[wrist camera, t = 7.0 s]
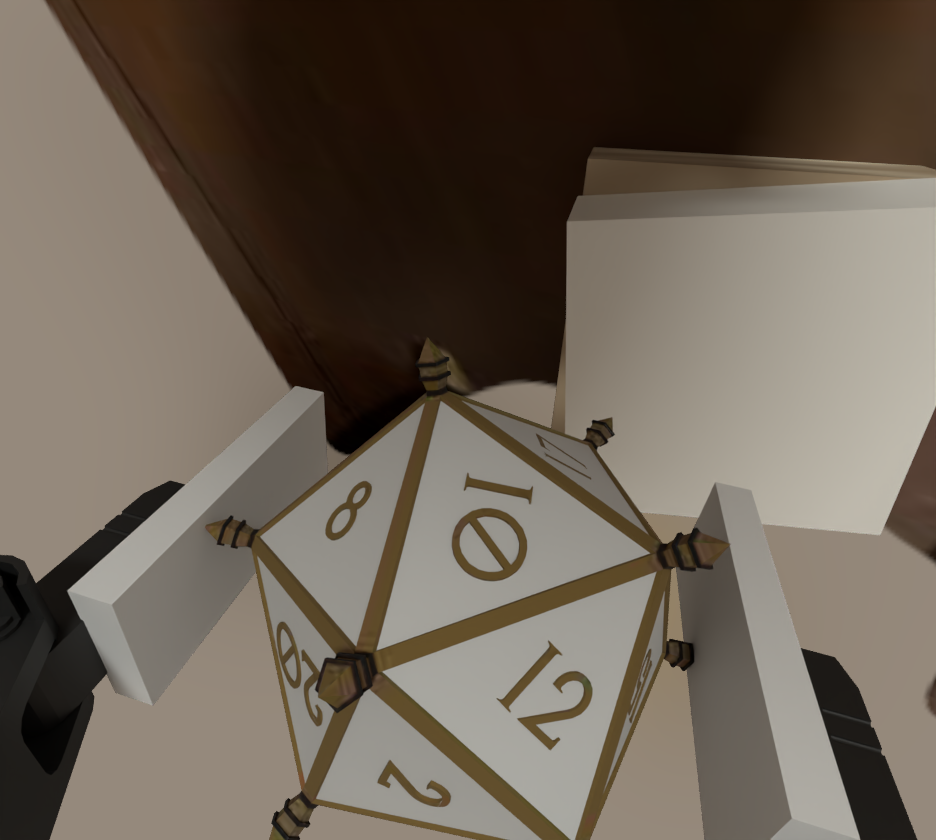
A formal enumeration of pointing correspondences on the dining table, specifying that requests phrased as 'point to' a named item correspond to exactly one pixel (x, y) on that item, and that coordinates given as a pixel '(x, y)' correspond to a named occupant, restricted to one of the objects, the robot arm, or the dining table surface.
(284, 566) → the game die
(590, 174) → the birch base block
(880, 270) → the white top block
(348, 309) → the dining table surface
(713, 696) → the robot arm
